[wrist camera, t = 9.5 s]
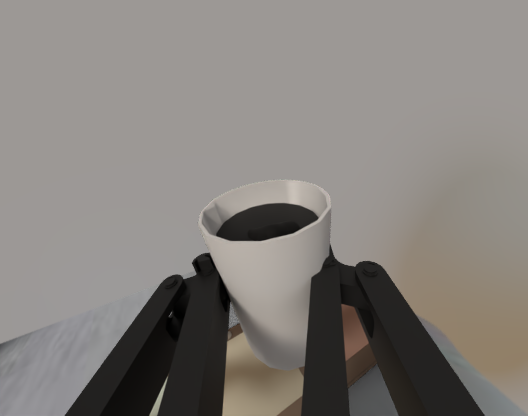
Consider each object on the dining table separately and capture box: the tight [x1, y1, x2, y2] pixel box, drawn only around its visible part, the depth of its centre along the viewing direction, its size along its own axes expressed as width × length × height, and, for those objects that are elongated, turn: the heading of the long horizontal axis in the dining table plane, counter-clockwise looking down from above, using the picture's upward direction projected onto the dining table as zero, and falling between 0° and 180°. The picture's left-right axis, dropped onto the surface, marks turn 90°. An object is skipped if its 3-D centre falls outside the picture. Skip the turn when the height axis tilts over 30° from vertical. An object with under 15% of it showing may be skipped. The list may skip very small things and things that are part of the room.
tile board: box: [149, 304, 377, 416], centre depth 23 cm, size 12×32×1 cm, turn 117°
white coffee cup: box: [198, 180, 331, 371], centre depth 13 cm, size 7×7×10 cm
